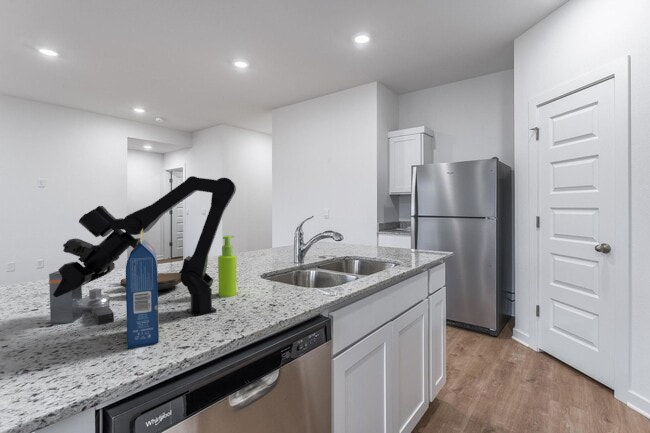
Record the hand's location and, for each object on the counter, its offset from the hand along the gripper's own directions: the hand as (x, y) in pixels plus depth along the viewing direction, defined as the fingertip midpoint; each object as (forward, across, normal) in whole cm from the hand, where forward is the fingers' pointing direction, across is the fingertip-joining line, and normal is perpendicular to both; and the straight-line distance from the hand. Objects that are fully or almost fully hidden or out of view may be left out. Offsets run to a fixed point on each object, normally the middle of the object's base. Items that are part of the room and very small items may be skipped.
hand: (65, 291), depth 88 cm
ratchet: (+1, -4, +10) cm, 11 cm away
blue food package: (-12, +16, +22) cm, 30 cm away
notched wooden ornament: (-4, -32, +15) cm, 36 cm away
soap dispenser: (-23, -17, +34) cm, 45 cm away
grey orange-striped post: (+5, 0, +6) cm, 8 cm away
